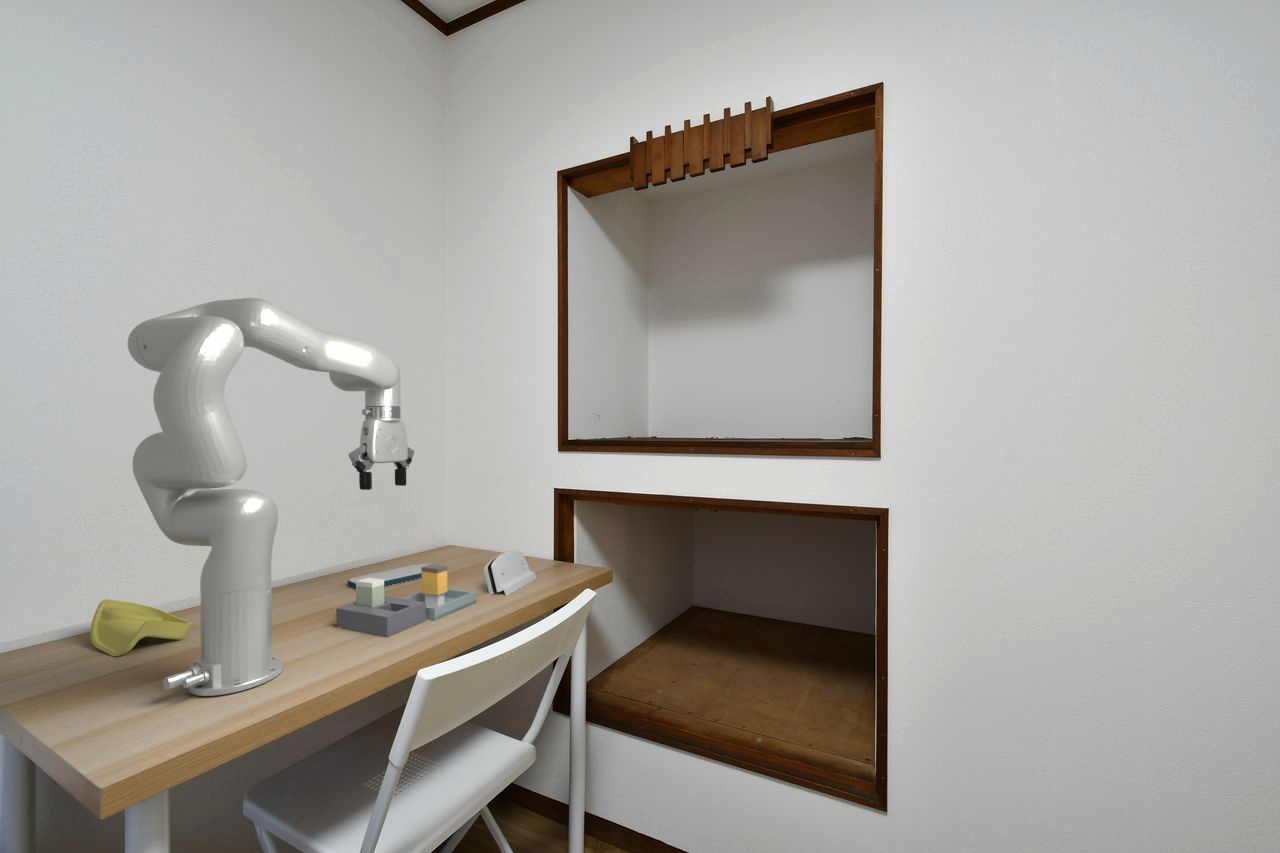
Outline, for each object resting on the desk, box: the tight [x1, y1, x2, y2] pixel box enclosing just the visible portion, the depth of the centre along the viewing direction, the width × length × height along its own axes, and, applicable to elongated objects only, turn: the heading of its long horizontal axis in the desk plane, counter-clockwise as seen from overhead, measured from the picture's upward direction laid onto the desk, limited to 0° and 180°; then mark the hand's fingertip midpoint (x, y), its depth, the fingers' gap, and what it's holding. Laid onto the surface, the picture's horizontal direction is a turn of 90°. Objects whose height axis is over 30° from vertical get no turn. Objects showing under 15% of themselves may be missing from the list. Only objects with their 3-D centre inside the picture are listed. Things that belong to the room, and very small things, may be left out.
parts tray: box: [401, 587, 477, 621], centre depth 125 cm, size 13×13×2 cm
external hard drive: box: [347, 563, 431, 590], centre depth 152 cm, size 24×12×2 cm, turn 140°
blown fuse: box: [421, 563, 448, 607], centre depth 125 cm, size 3×5×9 cm, turn 65°
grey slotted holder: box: [483, 550, 537, 596], centre depth 143 cm, size 17×5×10 cm, turn 164°
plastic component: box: [90, 599, 193, 657], centre depth 108 cm, size 20×7×10 cm
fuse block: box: [335, 578, 427, 638], centre depth 115 cm, size 10×15×9 cm, turn 66°
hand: (383, 487), depth 126 cm, fingers open, 9 cm apart
